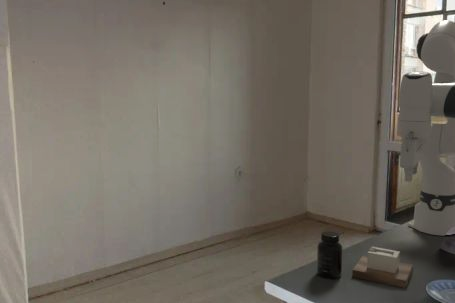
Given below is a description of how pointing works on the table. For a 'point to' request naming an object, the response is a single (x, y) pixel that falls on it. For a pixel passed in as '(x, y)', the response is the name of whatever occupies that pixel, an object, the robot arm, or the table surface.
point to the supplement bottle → (329, 256)
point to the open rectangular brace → (383, 259)
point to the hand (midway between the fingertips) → (410, 177)
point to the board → (383, 273)
